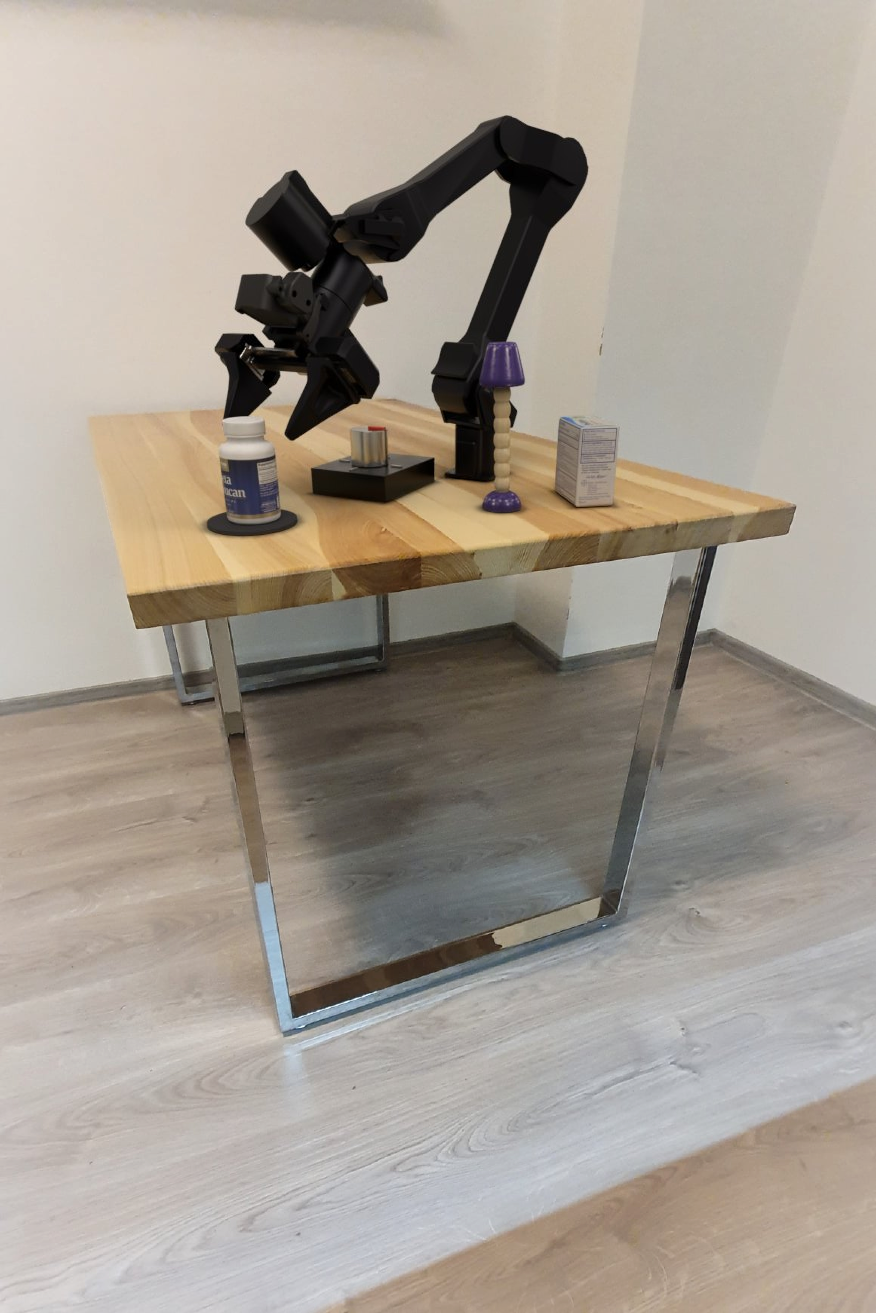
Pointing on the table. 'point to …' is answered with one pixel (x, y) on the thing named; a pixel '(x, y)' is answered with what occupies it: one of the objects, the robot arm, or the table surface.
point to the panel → (373, 478)
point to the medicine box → (586, 460)
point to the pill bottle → (249, 472)
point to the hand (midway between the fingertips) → (256, 433)
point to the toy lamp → (502, 418)
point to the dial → (369, 446)
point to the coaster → (227, 527)
